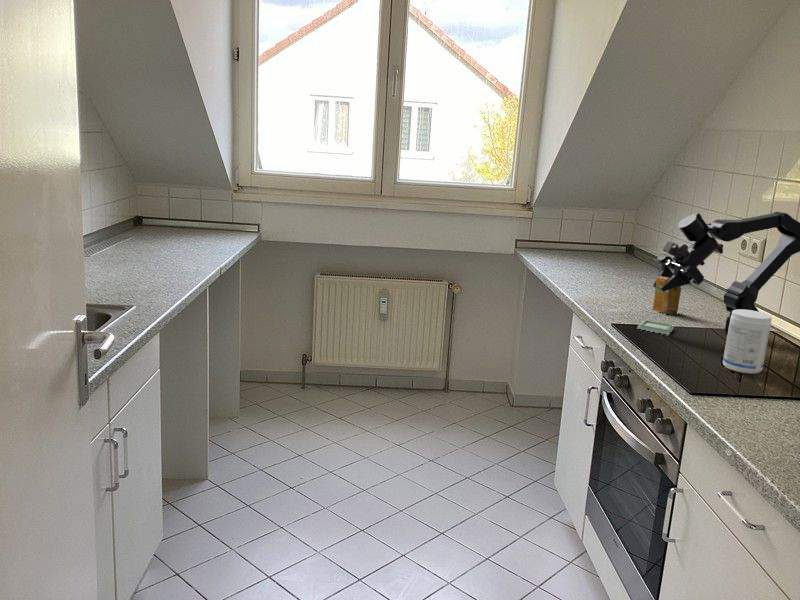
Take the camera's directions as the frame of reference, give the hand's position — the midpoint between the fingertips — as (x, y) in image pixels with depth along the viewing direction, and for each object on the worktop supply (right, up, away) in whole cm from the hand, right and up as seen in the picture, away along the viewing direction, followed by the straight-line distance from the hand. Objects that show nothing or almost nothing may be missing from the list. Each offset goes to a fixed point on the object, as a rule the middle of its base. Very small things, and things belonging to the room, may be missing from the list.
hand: (658, 288), depth 222 cm
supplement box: (+1, -7, +2) cm, 7 cm away
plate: (+1, -12, +5) cm, 14 cm away
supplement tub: (+12, -21, -28) cm, 37 cm away
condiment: (+14, -8, +30) cm, 34 cm away
